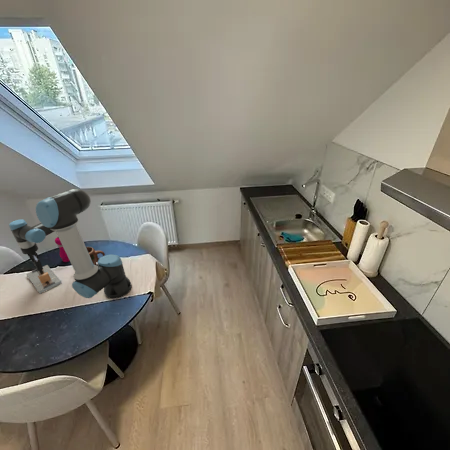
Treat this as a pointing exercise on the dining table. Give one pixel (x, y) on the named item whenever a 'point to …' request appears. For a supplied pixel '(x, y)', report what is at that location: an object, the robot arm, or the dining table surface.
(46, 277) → the fader cap
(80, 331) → the dining table surface
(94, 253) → the brown mug
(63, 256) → the pepper mill
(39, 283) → the grey slotted slider plate
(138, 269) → the dining table surface
